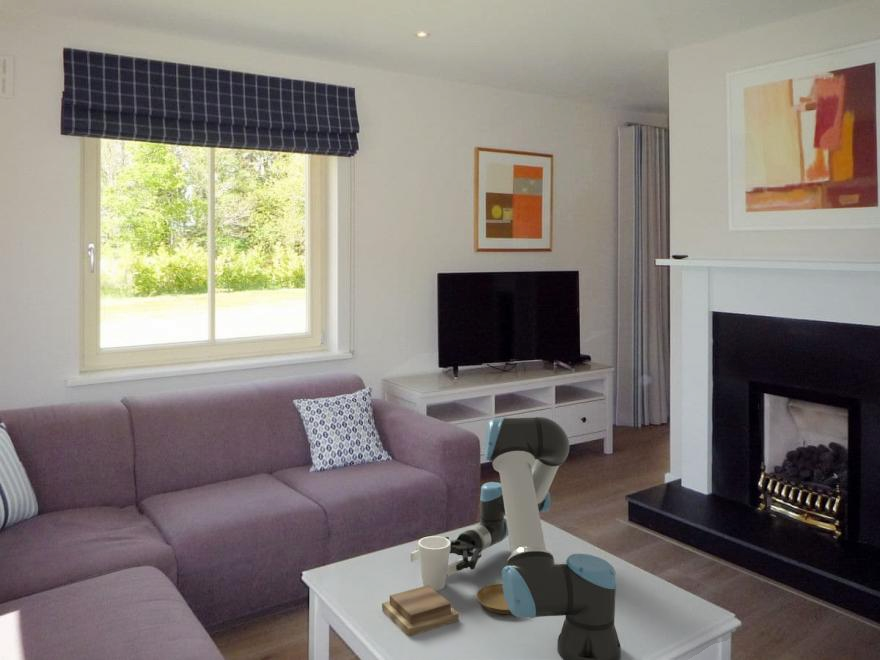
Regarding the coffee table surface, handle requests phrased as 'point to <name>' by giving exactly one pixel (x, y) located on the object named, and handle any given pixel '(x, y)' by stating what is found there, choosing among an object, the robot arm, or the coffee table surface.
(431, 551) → the foam cup
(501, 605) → the plant saucer
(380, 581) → the coffee table surface
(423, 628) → the plinth
